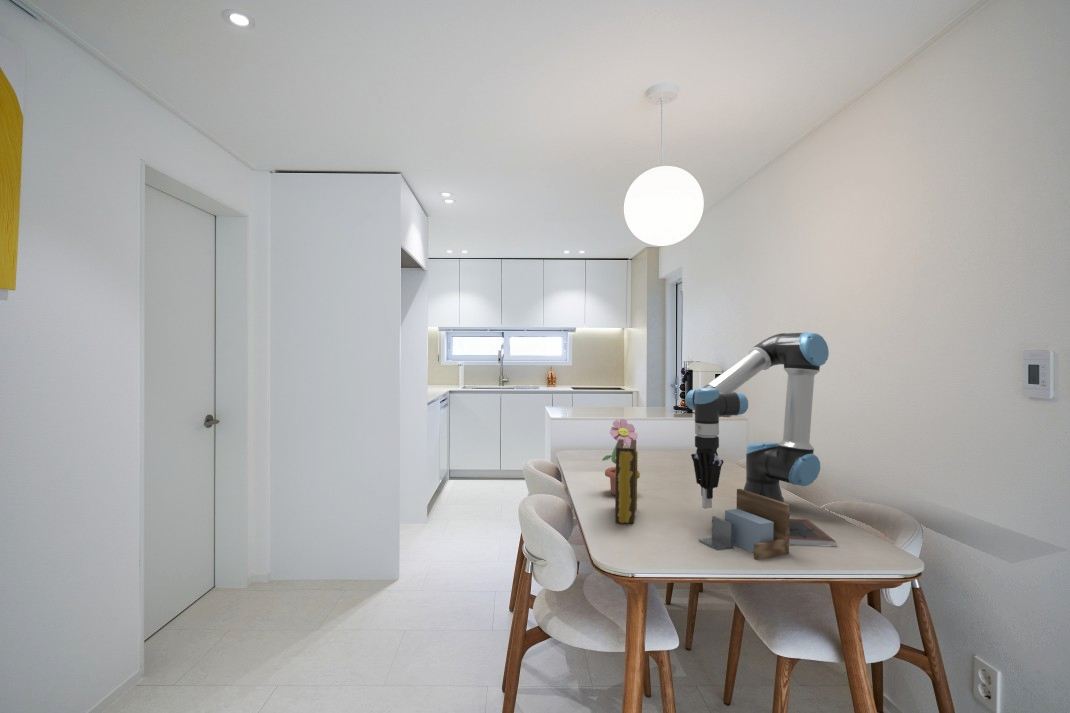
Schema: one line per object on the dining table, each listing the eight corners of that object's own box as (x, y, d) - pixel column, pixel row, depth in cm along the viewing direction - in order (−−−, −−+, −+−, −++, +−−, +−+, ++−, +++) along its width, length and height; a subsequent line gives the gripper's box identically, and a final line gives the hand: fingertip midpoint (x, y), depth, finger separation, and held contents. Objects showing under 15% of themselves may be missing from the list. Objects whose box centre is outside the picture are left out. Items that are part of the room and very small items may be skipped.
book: (637, 525, 179) (638, 449, 179) (611, 523, 181) (612, 448, 181) (638, 506, 201) (639, 438, 201) (615, 505, 203) (616, 437, 203)
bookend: (714, 538, 167) (714, 515, 167) (733, 547, 160) (733, 523, 160) (698, 541, 165) (699, 518, 165) (717, 550, 158) (717, 526, 158)
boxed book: (736, 537, 169) (737, 508, 169) (773, 553, 156) (773, 521, 156) (723, 539, 167) (724, 510, 167) (759, 555, 154) (760, 523, 154)
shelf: (739, 532, 173) (740, 488, 173) (788, 553, 156) (789, 504, 156) (709, 537, 168) (709, 492, 168) (756, 559, 151) (757, 508, 151)
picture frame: (756, 523, 185) (778, 546, 164) (756, 516, 185) (778, 537, 164) (807, 526, 183) (836, 549, 162) (807, 518, 183) (836, 540, 162)
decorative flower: (609, 500, 210) (610, 421, 210) (597, 491, 223) (598, 417, 223) (645, 498, 213) (646, 421, 213) (631, 489, 227) (632, 417, 227)
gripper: (684, 433, 183) (684, 503, 183) (711, 439, 171) (711, 514, 171) (702, 431, 186) (702, 501, 186) (730, 437, 174) (730, 511, 174)
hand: (707, 507), depth 179 cm, fingers closed
